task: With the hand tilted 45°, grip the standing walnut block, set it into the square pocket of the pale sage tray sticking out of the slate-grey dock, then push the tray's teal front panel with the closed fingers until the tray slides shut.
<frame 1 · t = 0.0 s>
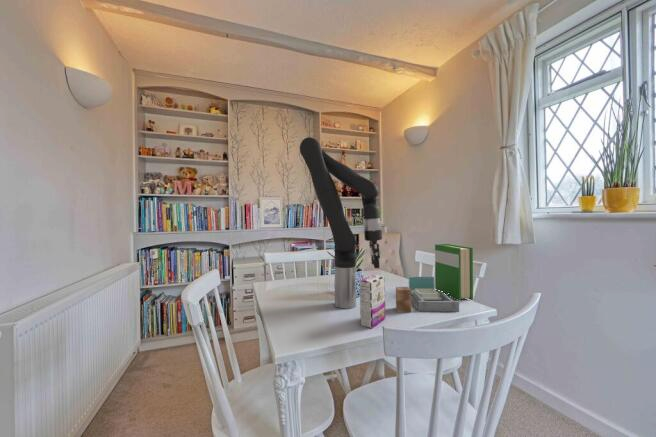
hand: (375, 266, 114), 17 cm above the table, tool pointing down, fingers open, 8 cm apart
hardback book: (453, 295, 129), on the table
dock: (431, 303, 116), on the table
candy bar box: (373, 322, 97), on the table
walnut block: (403, 309, 109), on the table
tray: (425, 287, 124), point 5 cm above the table, slide at 8.0 cm
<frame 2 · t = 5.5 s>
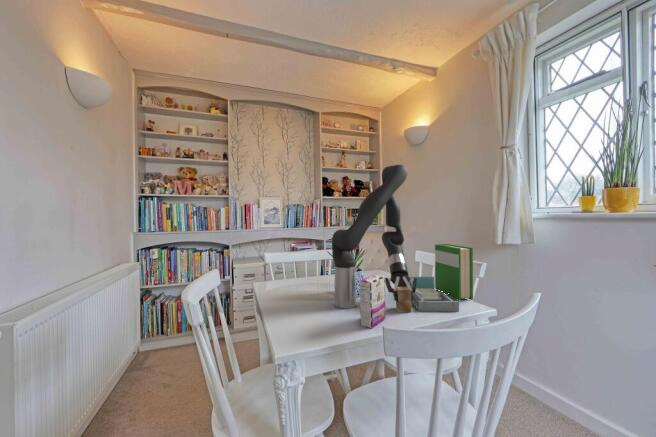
hand: (404, 300, 107), 4 cm above the table, tool tilted 45°, fingers closed on walnut block, 5 cm apart
walnut block: (403, 309, 109), on the table, touching gripper
everything else where it was.
when the fingers open (8 cm above the table, at t = 12.2 s): walnut block drops 2 cm, resting on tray.
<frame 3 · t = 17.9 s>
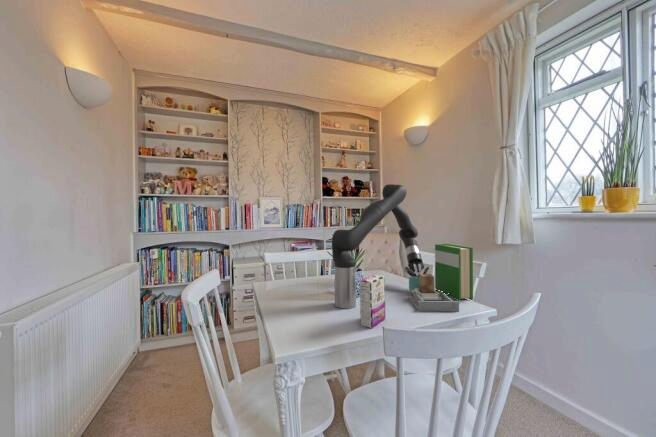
hand: (420, 283, 132), 5 cm above the table, tool tilted 45°, fingers closed
walnut block: (426, 294, 122), point 2 cm above the table, touching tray
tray: (425, 287, 124), point 5 cm above the table, slide at 8.0 cm, touching gripper, walnut block
everything else where it was.
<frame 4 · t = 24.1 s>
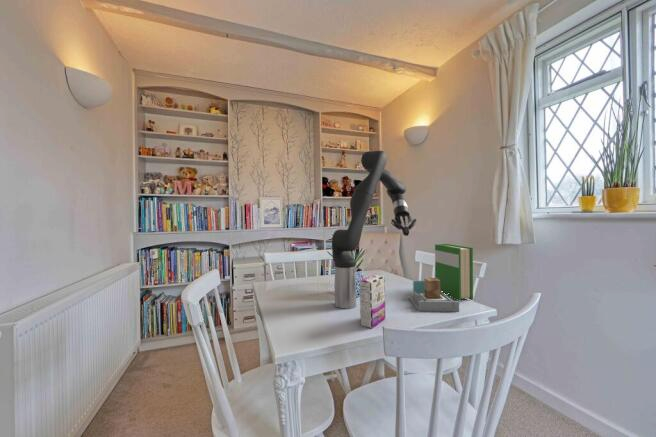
hand: (406, 234, 127), 30 cm above the table, tool tilted 45°, fingers closed
walnut block: (432, 299, 115), point 2 cm above the table, touching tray
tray: (431, 292, 116), point 5 cm above the table, slide at 0.0 cm, touching walnut block
everything else where it was.
at the end: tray slide at 0.0 cm; walnut block inside the target area on the dock (0.4 cm from its centre), point 2.2 cm above the dock's base; walnut block tilted 0° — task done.
